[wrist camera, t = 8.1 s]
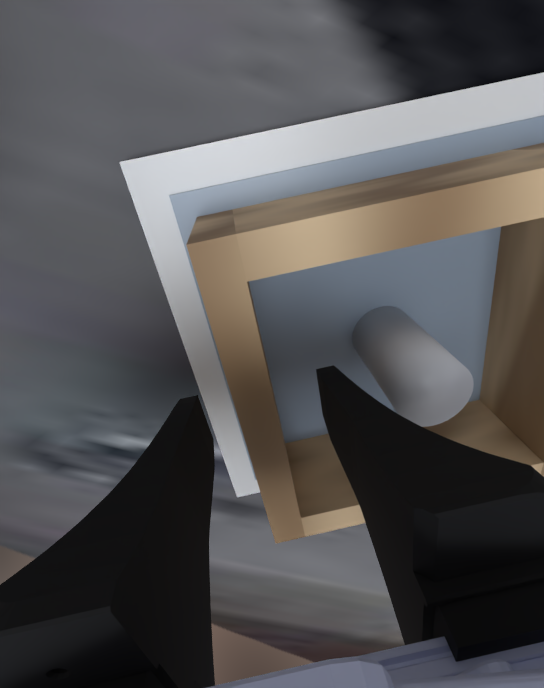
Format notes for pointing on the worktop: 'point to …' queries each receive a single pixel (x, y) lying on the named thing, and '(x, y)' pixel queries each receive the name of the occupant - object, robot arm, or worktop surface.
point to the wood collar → (362, 240)
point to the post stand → (345, 276)
